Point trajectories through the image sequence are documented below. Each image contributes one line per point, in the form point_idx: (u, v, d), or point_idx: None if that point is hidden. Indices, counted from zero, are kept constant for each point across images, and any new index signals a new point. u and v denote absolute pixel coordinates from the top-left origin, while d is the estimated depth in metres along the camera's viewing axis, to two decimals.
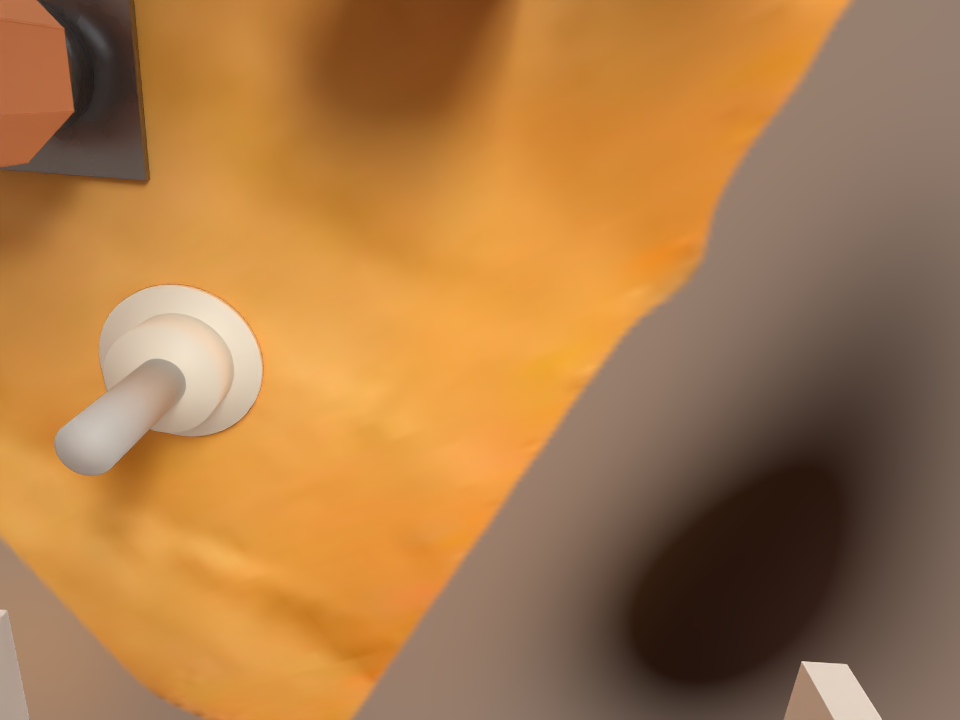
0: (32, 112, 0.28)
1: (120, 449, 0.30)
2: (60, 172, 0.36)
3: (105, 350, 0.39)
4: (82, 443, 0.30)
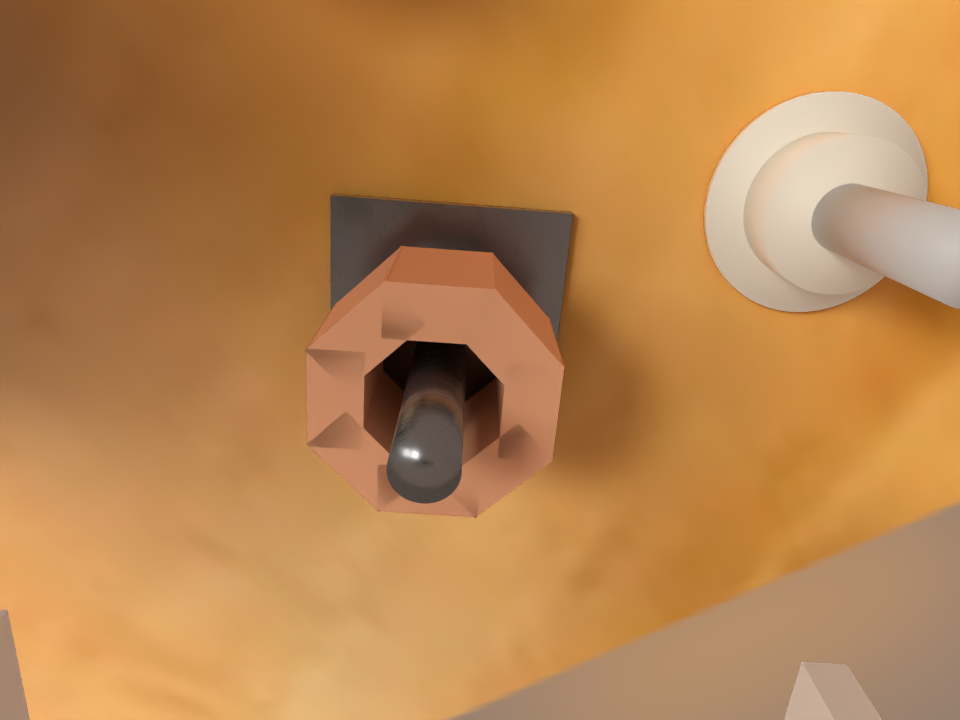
0: (493, 272, 0.23)
1: None
2: (559, 312, 0.31)
3: (781, 301, 0.30)
4: None
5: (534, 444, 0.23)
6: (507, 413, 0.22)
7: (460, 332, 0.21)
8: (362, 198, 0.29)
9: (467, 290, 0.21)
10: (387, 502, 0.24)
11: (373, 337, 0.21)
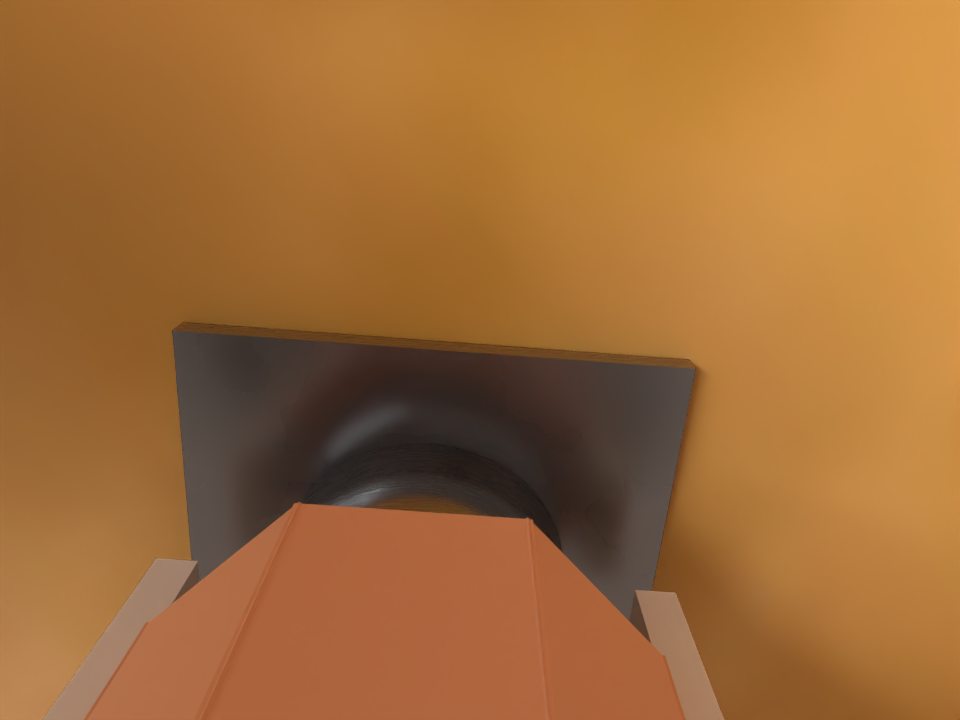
0: (545, 688, 0.07)
1: None
2: (655, 554, 0.15)
3: None
4: None
5: None
6: None
7: None
8: (241, 336, 0.13)
9: None
10: None
11: None
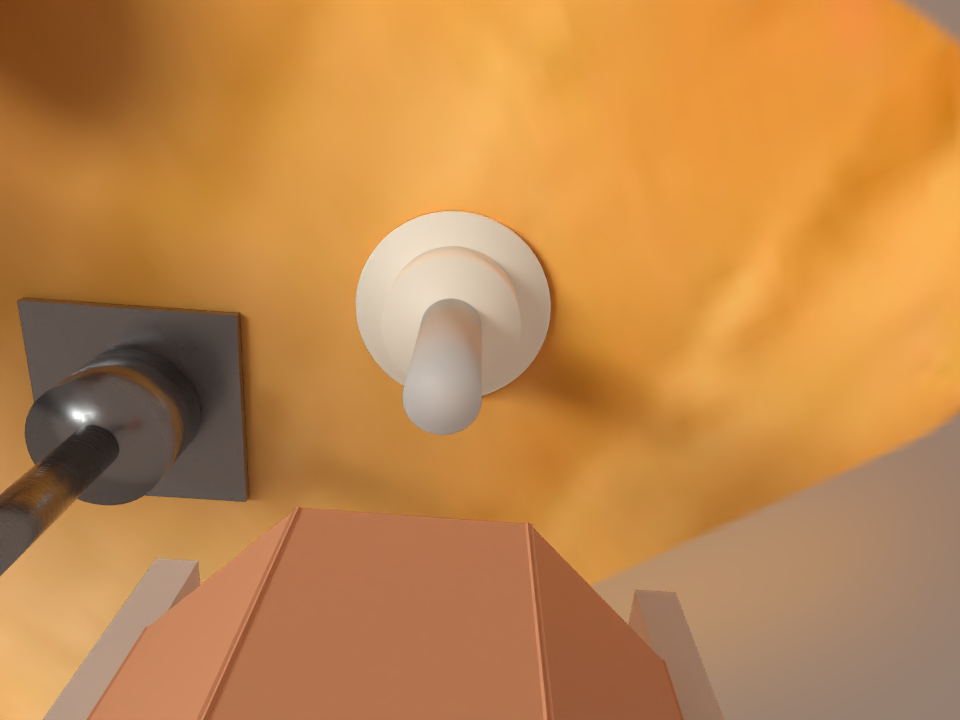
0: (545, 695, 0.07)
1: (447, 359, 0.23)
2: (238, 400, 0.34)
3: None
4: (434, 401, 0.23)
5: None
6: None
7: None
8: (46, 303, 0.32)
9: None
10: None
11: None
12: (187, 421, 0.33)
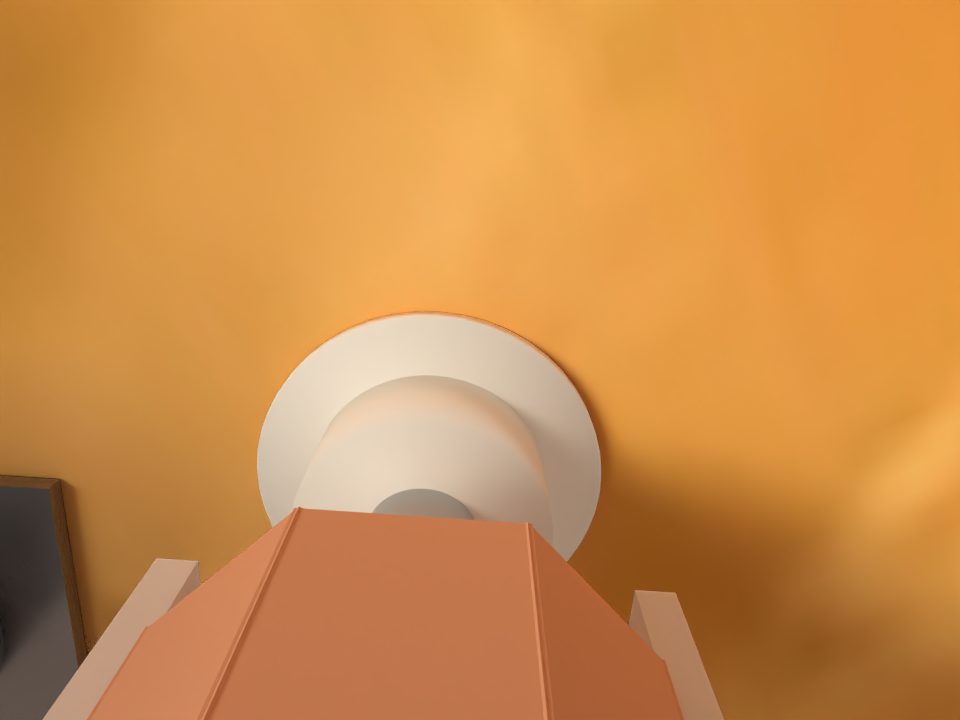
0: (545, 695, 0.07)
1: None
2: (66, 618, 0.20)
3: None
4: None
5: None
6: None
7: None
8: None
9: None
10: None
11: None
12: None
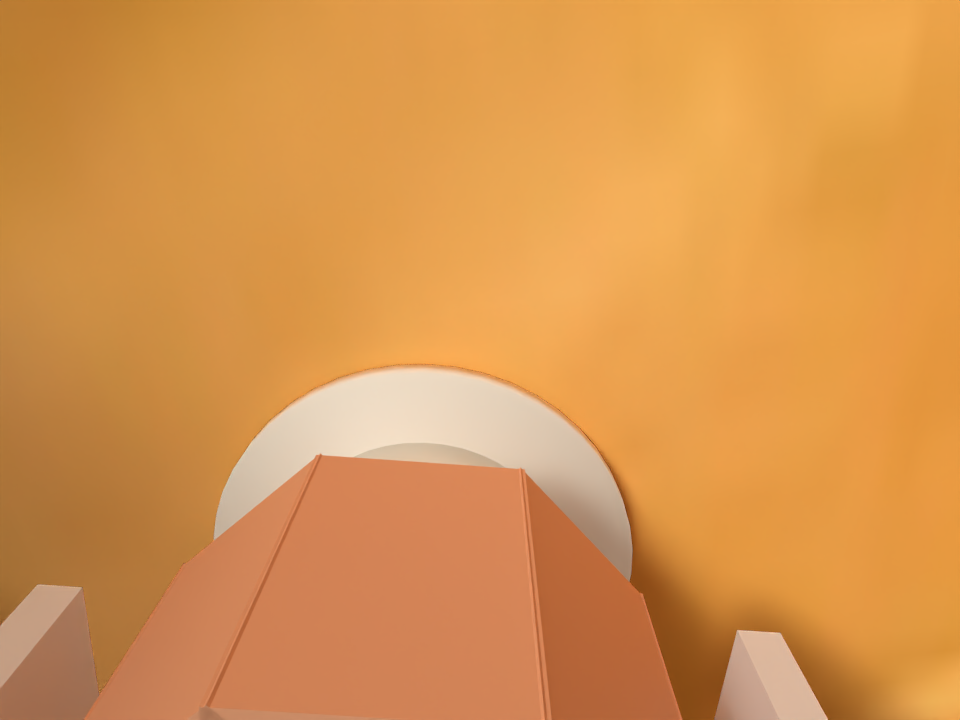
0: (533, 593, 0.09)
1: None
2: None
3: None
4: None
5: None
6: None
7: None
8: None
9: None
10: None
11: None
12: None
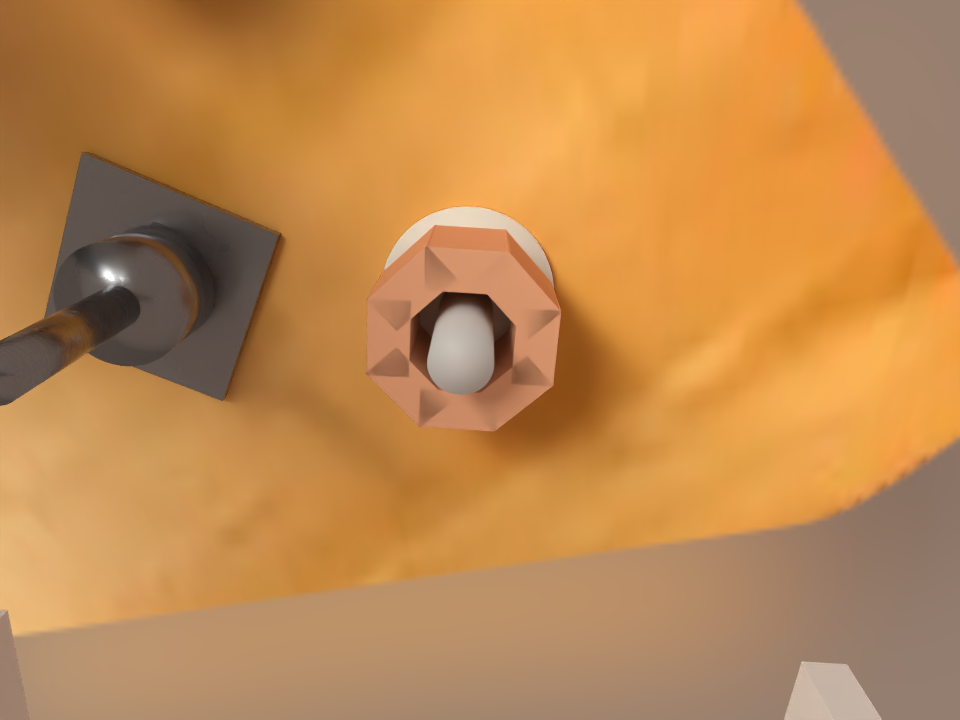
0: (507, 242, 0.30)
1: (476, 333, 0.27)
2: (251, 309, 0.37)
3: None
4: (453, 363, 0.27)
5: (539, 372, 0.30)
6: (518, 348, 0.30)
7: (482, 285, 0.29)
8: (108, 164, 0.34)
9: (487, 252, 0.28)
10: (426, 419, 0.31)
11: (418, 289, 0.29)
12: (201, 312, 0.35)
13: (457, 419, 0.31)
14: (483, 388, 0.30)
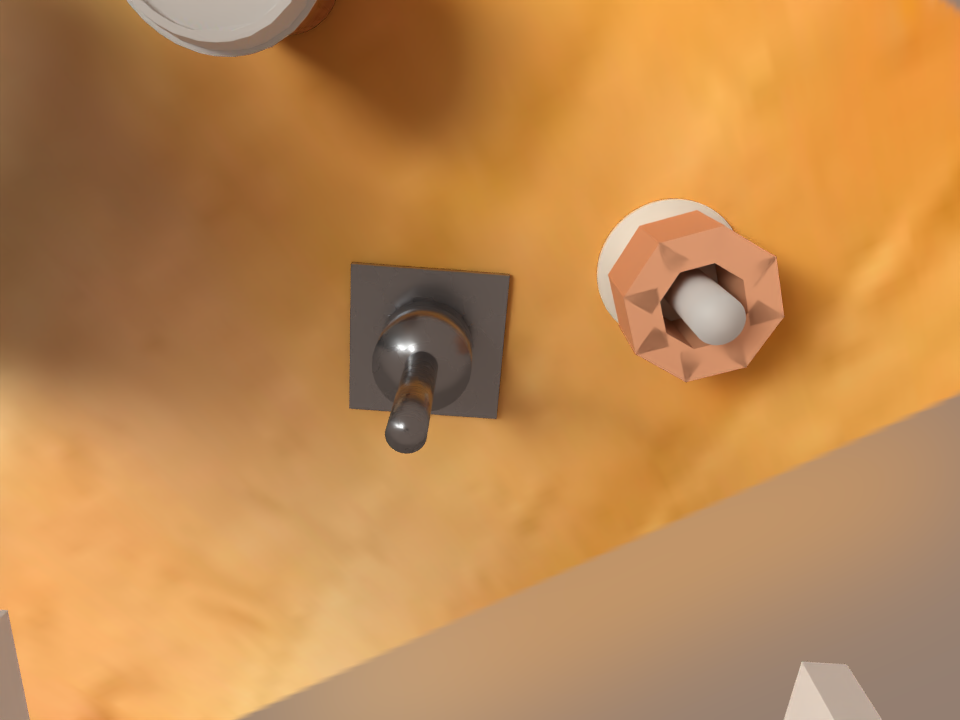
0: (712, 219, 0.37)
1: (724, 293, 0.35)
2: (502, 339, 0.46)
3: None
4: (713, 322, 0.35)
5: (770, 309, 0.37)
6: (749, 296, 0.37)
7: (709, 257, 0.36)
8: (371, 265, 0.44)
9: (707, 231, 0.36)
10: (690, 374, 0.39)
11: (660, 277, 0.37)
12: None
13: (714, 367, 0.38)
14: None
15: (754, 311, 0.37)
